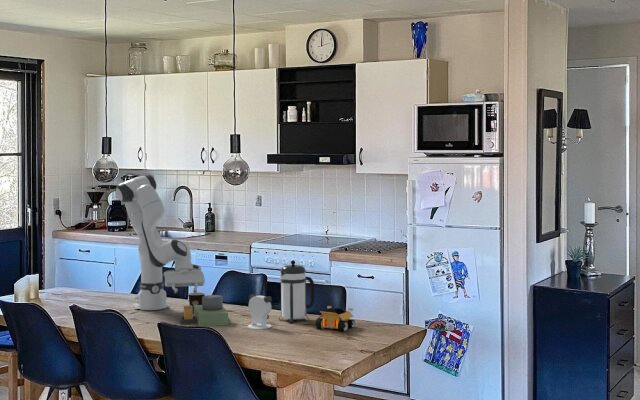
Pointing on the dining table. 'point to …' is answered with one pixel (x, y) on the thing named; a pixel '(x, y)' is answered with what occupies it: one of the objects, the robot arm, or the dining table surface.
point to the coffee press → (295, 292)
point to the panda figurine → (259, 311)
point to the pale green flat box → (209, 312)
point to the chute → (188, 312)
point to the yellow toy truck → (335, 319)
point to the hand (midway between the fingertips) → (185, 292)
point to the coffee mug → (195, 299)
